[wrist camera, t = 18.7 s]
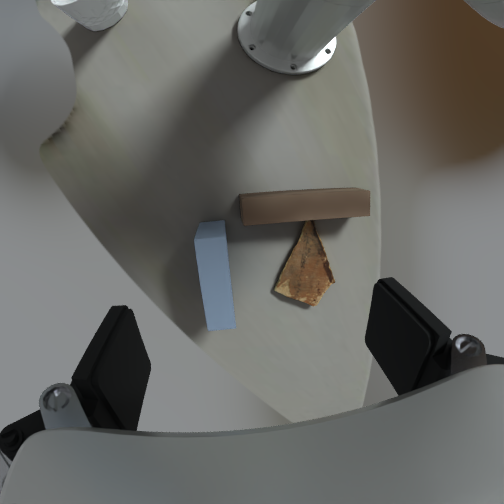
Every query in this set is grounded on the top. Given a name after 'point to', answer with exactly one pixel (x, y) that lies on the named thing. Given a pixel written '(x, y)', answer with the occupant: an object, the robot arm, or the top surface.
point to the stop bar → (303, 205)
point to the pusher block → (215, 275)
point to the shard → (306, 269)
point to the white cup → (93, 12)
